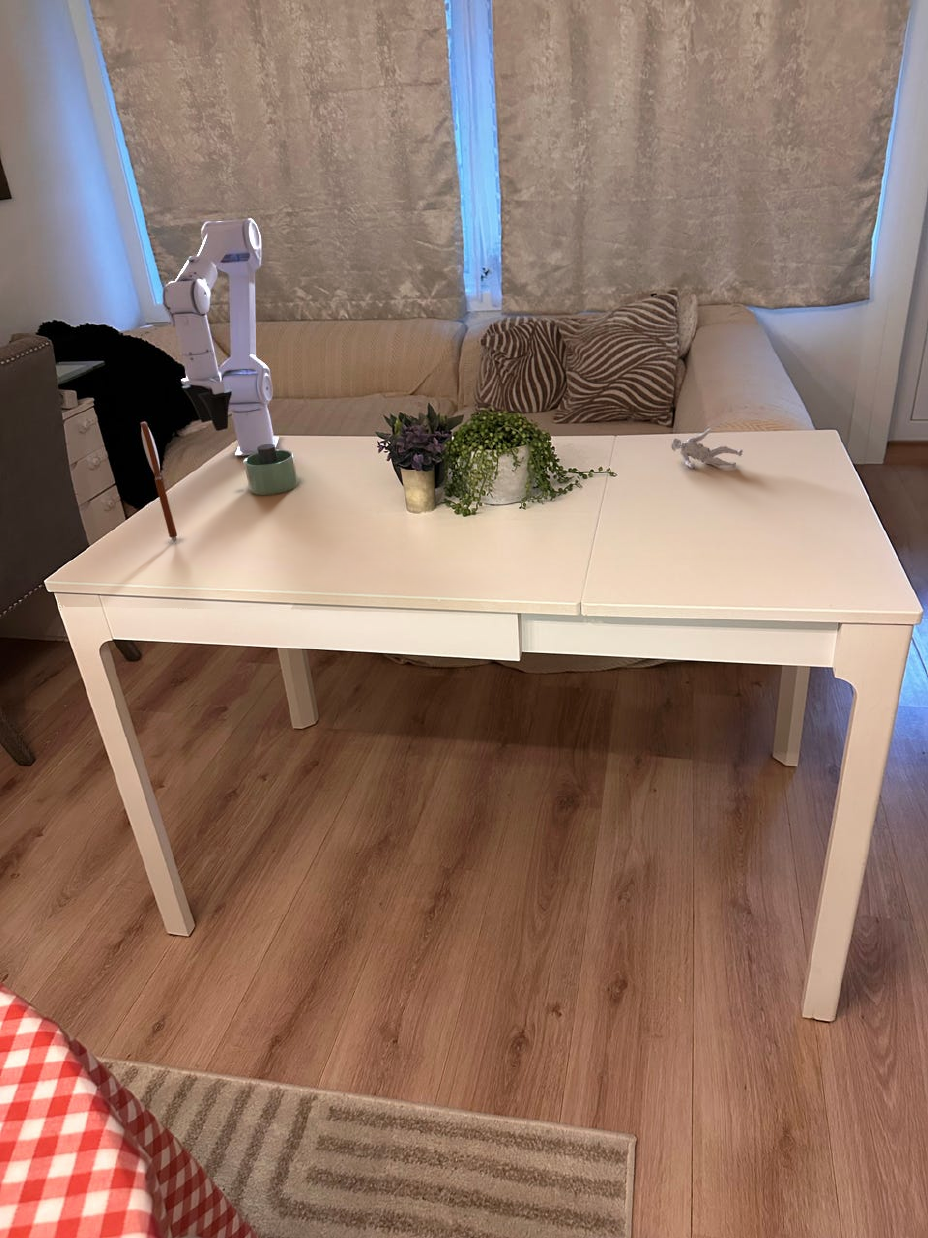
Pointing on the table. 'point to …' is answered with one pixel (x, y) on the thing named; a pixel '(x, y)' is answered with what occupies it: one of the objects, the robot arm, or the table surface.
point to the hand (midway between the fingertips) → (214, 425)
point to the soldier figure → (703, 451)
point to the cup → (271, 474)
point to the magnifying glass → (158, 478)
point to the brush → (267, 454)
